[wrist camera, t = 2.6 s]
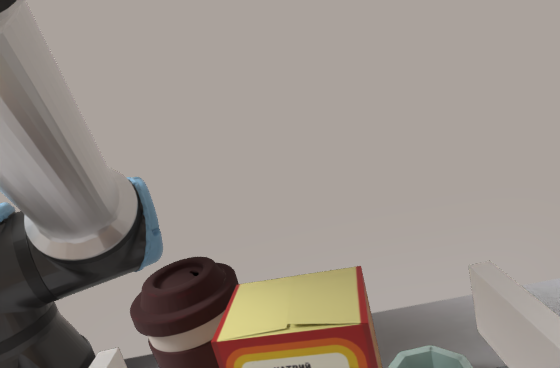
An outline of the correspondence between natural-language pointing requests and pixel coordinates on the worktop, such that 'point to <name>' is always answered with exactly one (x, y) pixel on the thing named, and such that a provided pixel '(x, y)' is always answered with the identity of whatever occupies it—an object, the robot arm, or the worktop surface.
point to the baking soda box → (299, 323)
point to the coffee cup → (184, 311)
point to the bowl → (429, 358)
